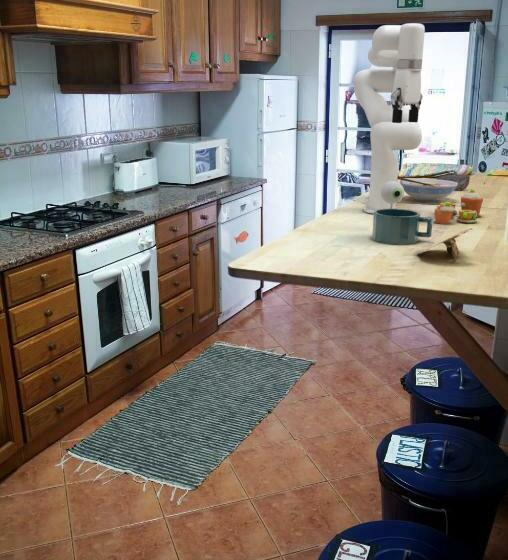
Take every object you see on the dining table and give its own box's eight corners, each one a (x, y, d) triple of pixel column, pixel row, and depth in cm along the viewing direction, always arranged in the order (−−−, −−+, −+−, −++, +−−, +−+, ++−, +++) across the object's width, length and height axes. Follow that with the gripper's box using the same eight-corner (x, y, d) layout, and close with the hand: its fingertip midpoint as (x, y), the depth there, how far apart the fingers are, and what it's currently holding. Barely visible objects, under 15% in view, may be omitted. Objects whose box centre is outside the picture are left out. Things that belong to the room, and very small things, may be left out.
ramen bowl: (470, 204, 249) (472, 183, 247) (421, 207, 241) (423, 185, 239) (431, 194, 271) (432, 175, 269) (385, 197, 263) (386, 177, 261)
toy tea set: (437, 211, 233) (439, 184, 231) (482, 214, 228) (485, 187, 225) (428, 223, 210) (430, 194, 207) (477, 227, 205) (480, 197, 202)
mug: (370, 242, 182) (372, 215, 180) (373, 233, 194) (375, 207, 192) (431, 246, 178) (433, 218, 176) (430, 237, 190) (432, 210, 188)
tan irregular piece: (415, 274, 174) (407, 247, 175) (466, 261, 174) (458, 234, 175) (431, 267, 156) (423, 237, 157) (488, 253, 156) (480, 223, 157)
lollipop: (384, 231, 198) (388, 182, 194) (374, 226, 204) (377, 179, 200) (405, 230, 200) (409, 182, 196) (394, 225, 206) (398, 179, 202)
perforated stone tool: (433, 189, 287) (434, 173, 285) (434, 187, 291) (435, 172, 289) (468, 191, 282) (470, 175, 280) (468, 189, 286) (470, 174, 284)
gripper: (413, 67, 207) (408, 121, 212) (383, 65, 195) (379, 122, 200) (434, 67, 202) (429, 122, 207) (405, 64, 190) (400, 123, 195)
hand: (405, 122), depth 203 cm, fingers open, 9 cm apart
